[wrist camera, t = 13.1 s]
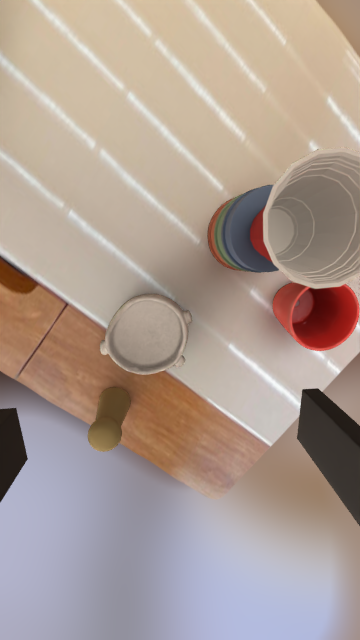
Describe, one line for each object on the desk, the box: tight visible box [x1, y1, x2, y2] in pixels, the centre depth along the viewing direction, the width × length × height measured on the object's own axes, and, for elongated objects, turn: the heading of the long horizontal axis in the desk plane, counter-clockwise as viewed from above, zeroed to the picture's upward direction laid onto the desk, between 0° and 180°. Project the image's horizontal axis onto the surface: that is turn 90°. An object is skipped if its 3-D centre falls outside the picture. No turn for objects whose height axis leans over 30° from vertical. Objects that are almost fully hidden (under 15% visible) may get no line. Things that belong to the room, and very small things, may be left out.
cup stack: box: [208, 185, 279, 272], centre depth 38 cm, size 12×12×12 cm
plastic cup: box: [250, 147, 360, 289], centre depth 26 cm, size 11×11×12 cm
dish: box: [100, 294, 192, 374], centre depth 45 cm, size 14×14×5 cm
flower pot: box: [273, 282, 359, 351], centre depth 43 cm, size 11×11×10 cm
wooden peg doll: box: [88, 387, 131, 452], centre depth 45 cm, size 6×6×11 cm
